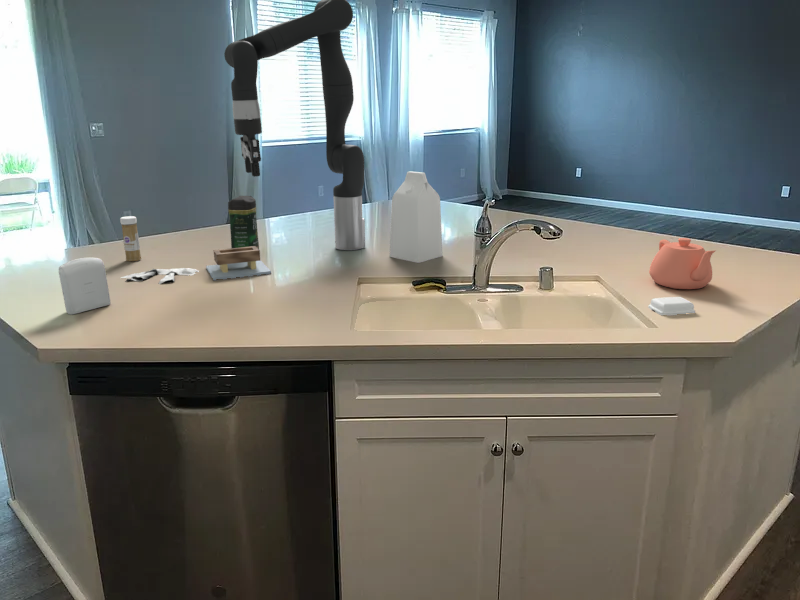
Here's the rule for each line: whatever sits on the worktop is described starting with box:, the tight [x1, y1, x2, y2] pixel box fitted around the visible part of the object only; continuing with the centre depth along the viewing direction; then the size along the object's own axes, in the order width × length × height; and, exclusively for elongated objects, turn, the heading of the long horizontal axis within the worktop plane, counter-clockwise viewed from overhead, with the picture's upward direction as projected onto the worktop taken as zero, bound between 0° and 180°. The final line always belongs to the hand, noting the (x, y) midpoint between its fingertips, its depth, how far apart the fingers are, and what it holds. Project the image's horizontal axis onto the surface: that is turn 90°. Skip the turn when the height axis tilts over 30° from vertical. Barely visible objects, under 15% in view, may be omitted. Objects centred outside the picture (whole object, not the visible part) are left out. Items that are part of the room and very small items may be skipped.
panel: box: [206, 259, 272, 281], centre depth 185 cm, size 16×14×3 cm
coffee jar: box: [227, 195, 260, 250], centre depth 201 cm, size 10×8×19 cm
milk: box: [389, 171, 443, 264], centre depth 197 cm, size 12×12×26 cm
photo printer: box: [58, 256, 111, 315], centre depth 152 cm, size 10×4×12 cm, turn 140°
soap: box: [647, 296, 696, 316], centre depth 150 cm, size 9×7×3 cm
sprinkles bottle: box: [119, 215, 142, 263], centre depth 196 cm, size 5×5×13 cm
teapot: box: [648, 237, 716, 290], centre depth 168 cm, size 22×15×12 cm
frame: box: [213, 246, 261, 265], centre depth 184 cm, size 12×6×3 cm, turn 114°
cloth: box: [120, 267, 200, 285], centre depth 179 cm, size 20×22×2 cm
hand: (253, 174), depth 188 cm, fingers open, 8 cm apart
